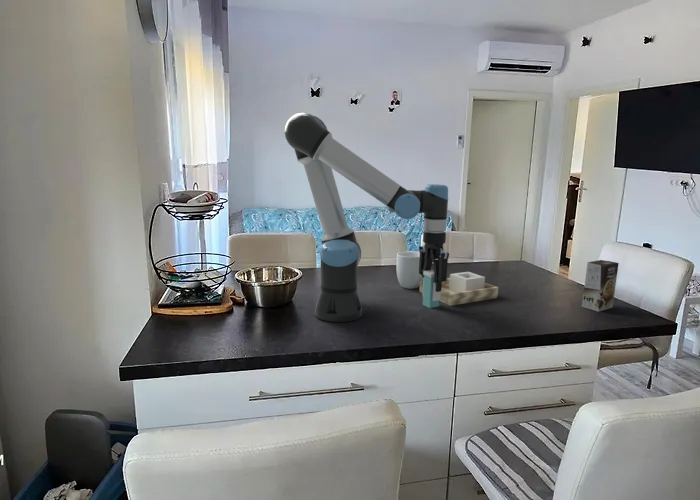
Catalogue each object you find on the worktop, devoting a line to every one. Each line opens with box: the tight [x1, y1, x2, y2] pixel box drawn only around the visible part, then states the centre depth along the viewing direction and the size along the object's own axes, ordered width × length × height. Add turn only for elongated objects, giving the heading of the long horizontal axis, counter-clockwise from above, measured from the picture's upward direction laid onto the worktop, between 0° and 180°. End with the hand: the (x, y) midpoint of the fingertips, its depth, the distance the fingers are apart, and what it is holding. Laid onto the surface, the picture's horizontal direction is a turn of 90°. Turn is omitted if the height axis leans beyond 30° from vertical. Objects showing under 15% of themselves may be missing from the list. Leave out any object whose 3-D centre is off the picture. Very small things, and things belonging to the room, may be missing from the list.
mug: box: [395, 251, 423, 290], centre depth 186 cm, size 15×11×13 cm
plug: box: [422, 269, 440, 309], centre depth 162 cm, size 4×4×12 cm
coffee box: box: [581, 259, 620, 313], centre depth 163 cm, size 9×6×16 cm
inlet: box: [449, 271, 486, 293], centre depth 177 cm, size 9×9×6 cm
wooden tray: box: [419, 277, 499, 307], centre depth 176 cm, size 22×18×4 cm
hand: (431, 297), depth 163 cm, fingers open, 5 cm apart
